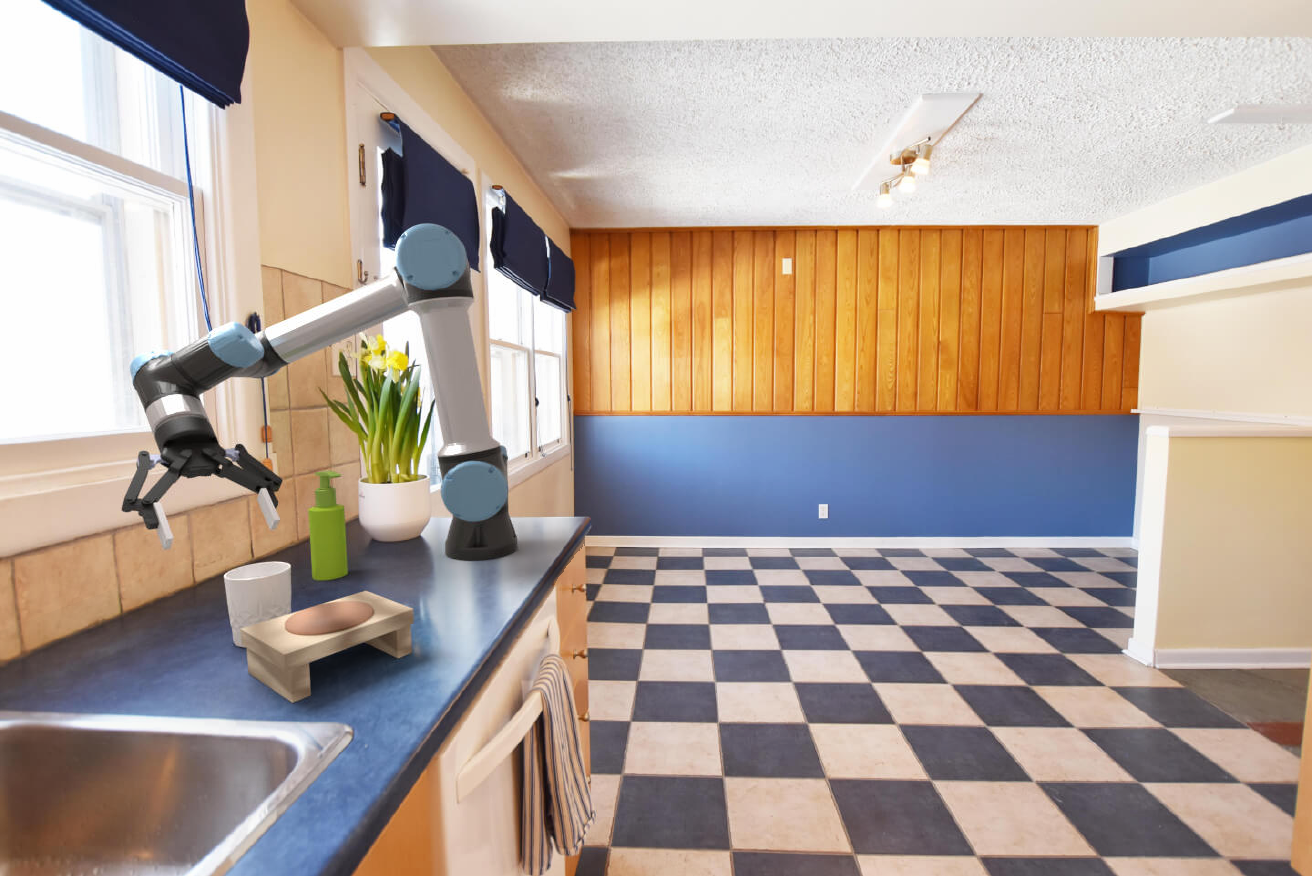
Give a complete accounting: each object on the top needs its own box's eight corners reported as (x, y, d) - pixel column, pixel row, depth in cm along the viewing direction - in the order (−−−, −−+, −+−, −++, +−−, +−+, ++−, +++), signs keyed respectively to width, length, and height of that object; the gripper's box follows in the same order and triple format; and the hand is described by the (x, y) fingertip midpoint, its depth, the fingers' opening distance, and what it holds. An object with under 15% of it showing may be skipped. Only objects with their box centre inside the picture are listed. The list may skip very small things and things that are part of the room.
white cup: (258, 624, 88) (254, 560, 87) (307, 627, 87) (303, 562, 86) (214, 648, 80) (208, 578, 79) (267, 651, 79) (262, 580, 78)
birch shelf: (367, 629, 86) (365, 588, 85) (415, 651, 79) (413, 606, 79) (243, 674, 73) (240, 625, 72) (287, 705, 66) (284, 651, 65)
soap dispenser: (326, 583, 105) (319, 475, 103) (306, 576, 109) (299, 472, 107) (357, 574, 110) (351, 470, 108) (336, 568, 114) (331, 468, 112)
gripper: (262, 438, 106) (306, 531, 99) (73, 452, 86) (111, 569, 79) (273, 410, 103) (319, 504, 96) (79, 418, 83) (119, 537, 75)
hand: (225, 534), depth 87 cm, fingers open, 13 cm apart
